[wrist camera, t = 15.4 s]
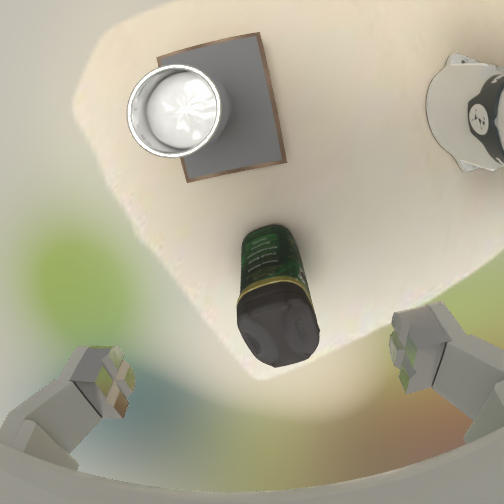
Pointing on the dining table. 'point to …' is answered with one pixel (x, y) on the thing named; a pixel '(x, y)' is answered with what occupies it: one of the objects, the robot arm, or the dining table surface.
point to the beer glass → (178, 110)
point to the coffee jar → (275, 299)
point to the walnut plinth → (236, 107)
